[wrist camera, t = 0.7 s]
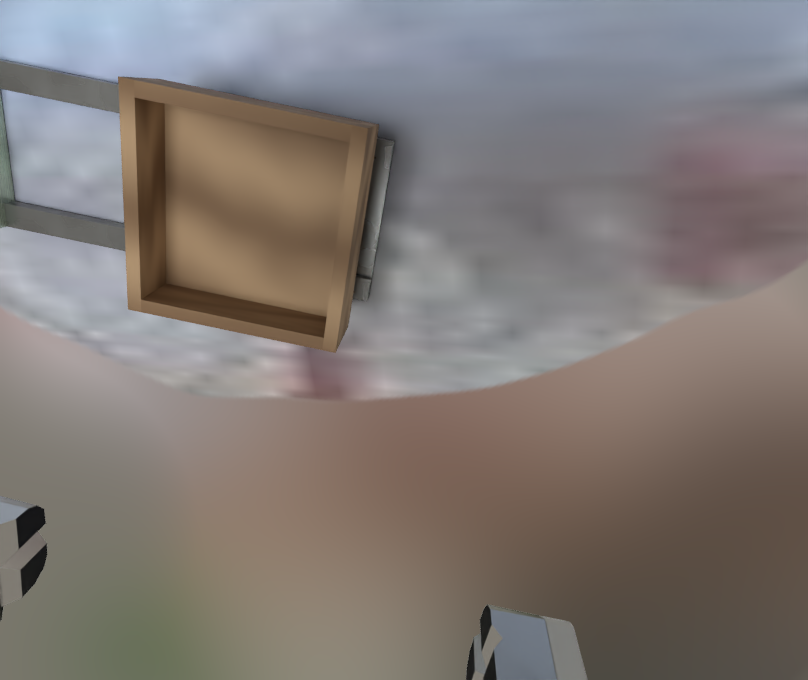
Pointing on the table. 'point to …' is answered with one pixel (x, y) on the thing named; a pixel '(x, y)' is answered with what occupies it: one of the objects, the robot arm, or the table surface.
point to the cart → (242, 210)
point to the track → (111, 234)
